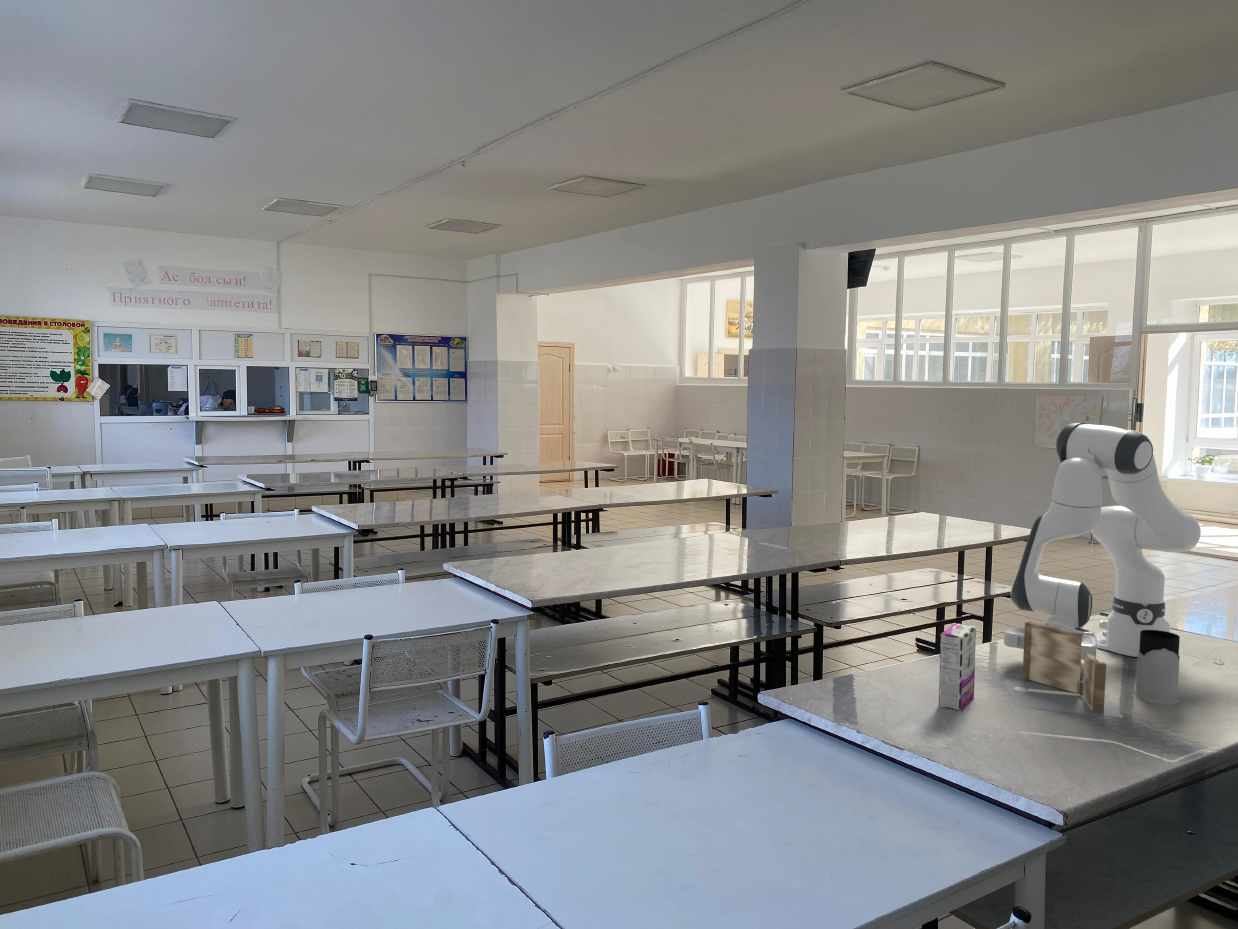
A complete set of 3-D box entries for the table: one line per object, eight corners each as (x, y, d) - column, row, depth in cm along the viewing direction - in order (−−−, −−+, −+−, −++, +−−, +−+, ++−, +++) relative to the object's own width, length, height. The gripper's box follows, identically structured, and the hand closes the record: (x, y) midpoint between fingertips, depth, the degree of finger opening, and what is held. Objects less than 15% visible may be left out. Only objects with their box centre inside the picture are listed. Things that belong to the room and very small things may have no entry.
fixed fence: (1078, 693, 192) (1080, 647, 191) (1086, 694, 192) (1089, 647, 191) (1094, 713, 180) (1096, 663, 179) (1103, 714, 179) (1106, 664, 179)
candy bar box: (951, 693, 193) (954, 622, 192) (974, 697, 190) (977, 626, 189) (936, 706, 184) (939, 632, 183) (960, 711, 181) (963, 636, 180)
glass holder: (1138, 703, 187) (1142, 637, 186) (1123, 683, 201) (1126, 621, 200) (1184, 708, 185) (1188, 641, 183) (1165, 688, 198) (1169, 625, 197)
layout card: (999, 673, 207) (999, 671, 207) (1095, 682, 201) (1095, 680, 201) (1015, 708, 183) (1015, 706, 183) (1124, 720, 177) (1124, 717, 177)
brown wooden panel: (1079, 691, 193) (1083, 633, 192) (1076, 693, 192) (1079, 634, 191) (1026, 677, 203) (1028, 621, 202) (1022, 678, 202) (1025, 622, 201)
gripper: (1010, 619, 216) (997, 630, 205) (1101, 633, 204) (1092, 645, 193) (1009, 643, 217) (995, 655, 206) (1100, 658, 204) (1090, 672, 193)
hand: (1043, 650), depth 199 cm, fingers closed
